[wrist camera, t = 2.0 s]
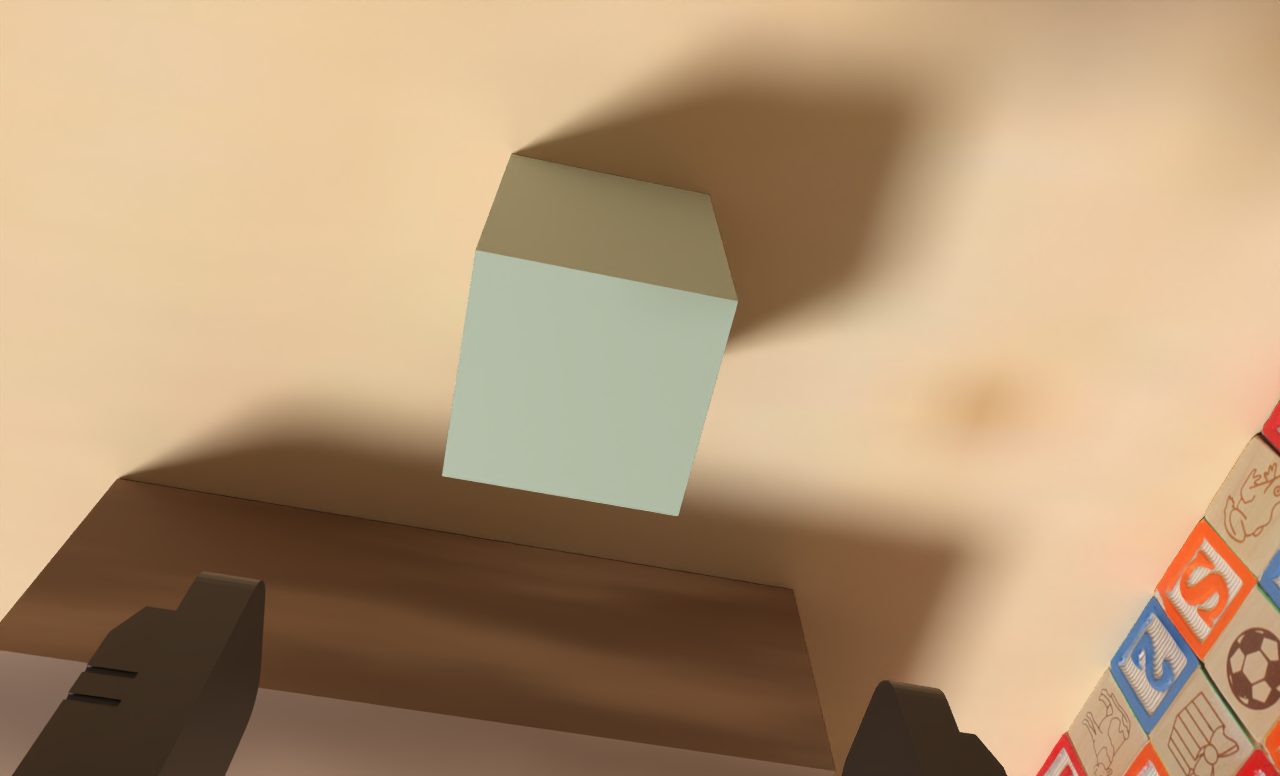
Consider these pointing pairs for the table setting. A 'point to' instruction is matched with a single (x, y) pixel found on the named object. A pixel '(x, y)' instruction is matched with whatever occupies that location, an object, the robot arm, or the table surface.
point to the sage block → (590, 338)
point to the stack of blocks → (1199, 649)
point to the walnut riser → (433, 647)
